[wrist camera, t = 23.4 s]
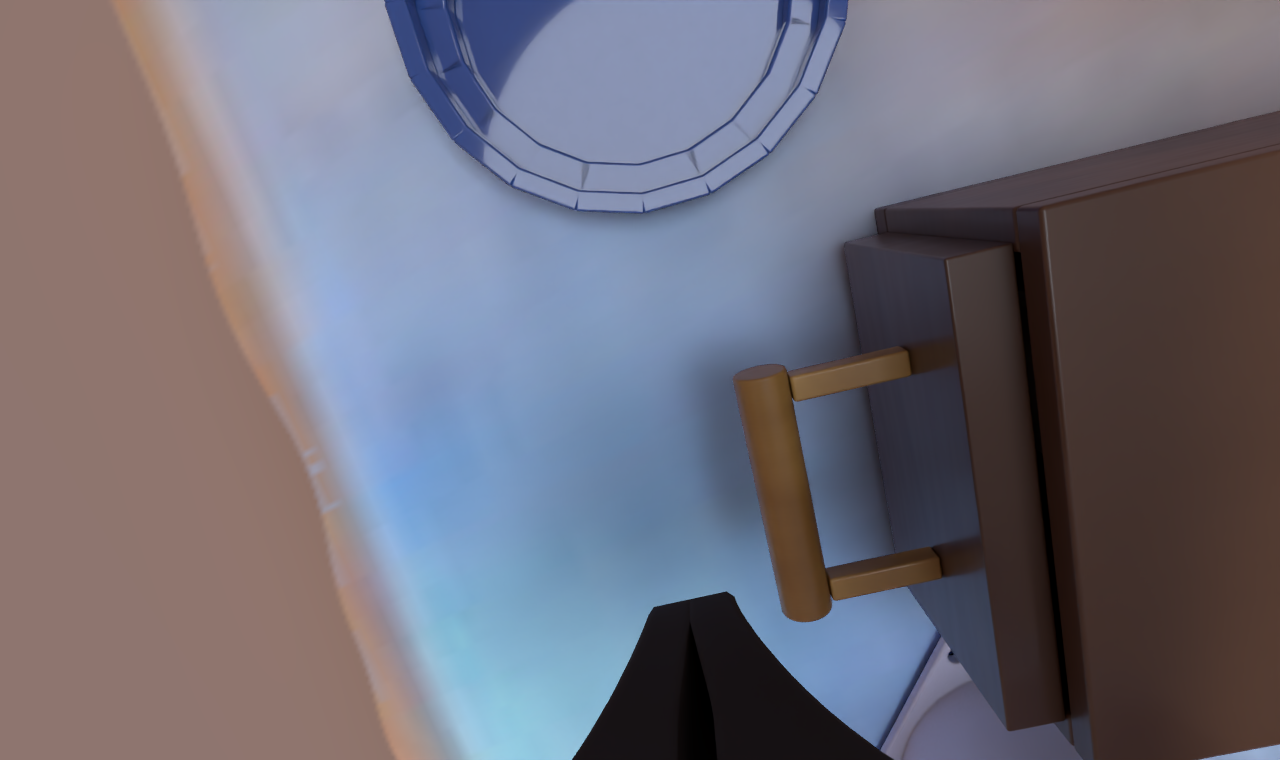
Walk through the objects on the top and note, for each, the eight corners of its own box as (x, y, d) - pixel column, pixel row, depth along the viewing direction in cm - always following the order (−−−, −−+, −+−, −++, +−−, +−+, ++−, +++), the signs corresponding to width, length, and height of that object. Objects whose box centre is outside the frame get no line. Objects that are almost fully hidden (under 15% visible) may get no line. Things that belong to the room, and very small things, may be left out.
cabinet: (930, 570, 21) (1097, 780, 13) (873, 208, 19) (1039, 206, 11) (1407, 470, 20) (1886, 633, 13) (1416, 77, 18) (2023, -28, 10)
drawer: (771, 602, 21) (825, 768, 14) (700, 276, 18) (728, 309, 12) (1357, 480, 20) (1682, 603, 13) (1358, 119, 17) (1750, 68, 11)
